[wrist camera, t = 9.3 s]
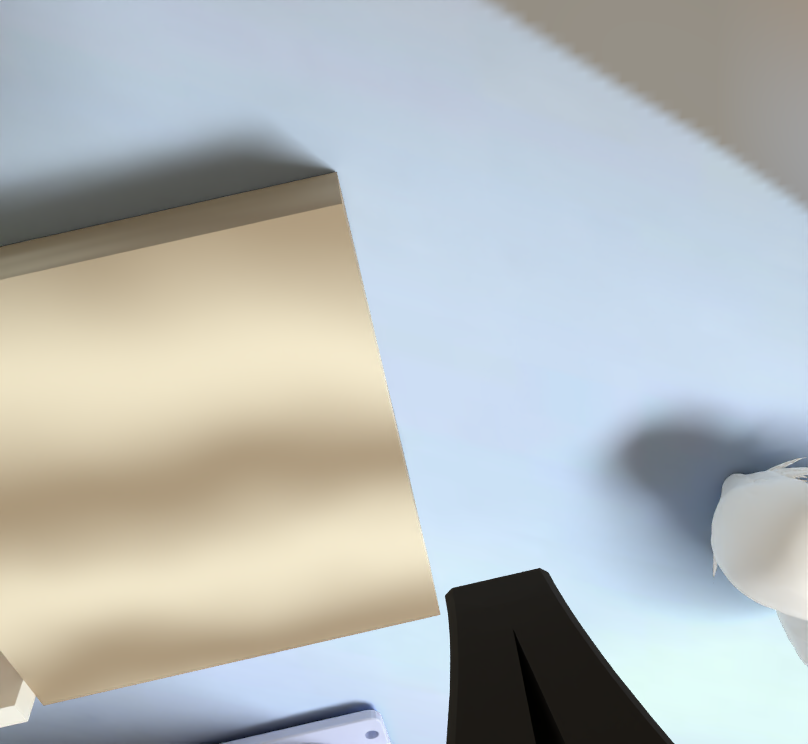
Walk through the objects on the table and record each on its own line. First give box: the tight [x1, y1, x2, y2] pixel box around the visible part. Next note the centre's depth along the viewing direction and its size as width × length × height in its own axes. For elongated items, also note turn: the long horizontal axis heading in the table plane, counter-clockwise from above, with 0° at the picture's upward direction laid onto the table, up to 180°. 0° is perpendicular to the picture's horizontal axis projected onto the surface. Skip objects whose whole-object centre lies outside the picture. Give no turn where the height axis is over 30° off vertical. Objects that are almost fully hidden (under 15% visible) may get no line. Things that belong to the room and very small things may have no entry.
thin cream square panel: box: [0, 172, 440, 706], centre depth 19 cm, size 13×12×2 cm
